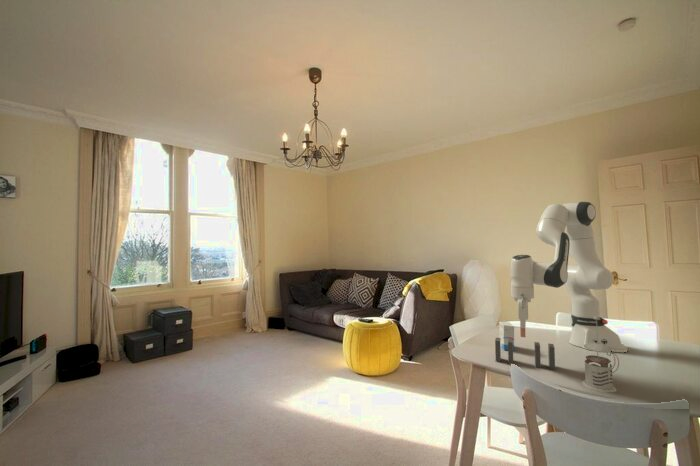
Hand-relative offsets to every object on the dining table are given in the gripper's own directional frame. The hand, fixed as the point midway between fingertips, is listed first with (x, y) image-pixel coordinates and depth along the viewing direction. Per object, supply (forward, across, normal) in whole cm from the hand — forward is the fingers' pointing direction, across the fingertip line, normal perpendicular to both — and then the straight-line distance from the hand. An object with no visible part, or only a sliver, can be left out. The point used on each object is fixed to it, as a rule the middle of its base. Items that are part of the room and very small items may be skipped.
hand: (522, 325), depth 137 cm
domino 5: (+16, 0, -10) cm, 19 cm away
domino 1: (+16, 0, +10) cm, 19 cm away
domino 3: (+4, 0, 0) cm, 4 cm away
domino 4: (+16, 0, -5) cm, 17 cm away
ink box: (+16, +19, +7) cm, 26 cm away
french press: (+16, -12, -24) cm, 31 cm away
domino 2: (+16, 0, +5) cm, 17 cm away
